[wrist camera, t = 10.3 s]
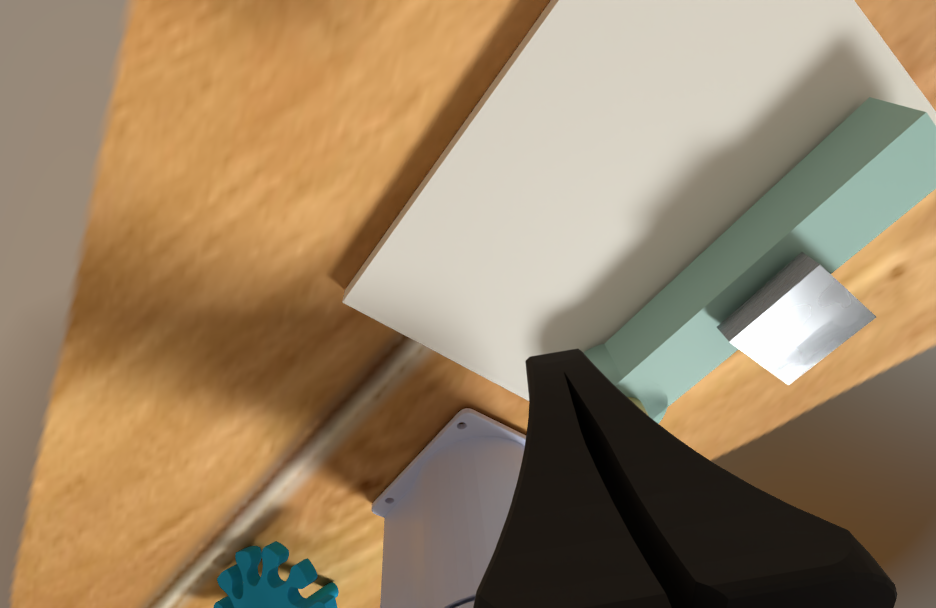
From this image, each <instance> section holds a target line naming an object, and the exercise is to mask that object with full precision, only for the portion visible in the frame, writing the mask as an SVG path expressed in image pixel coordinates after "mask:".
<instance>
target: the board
mask: <svg viewBox="0 0 936 608" xmlns="http://www.w3.org/2000/svg"><path fill="white" fill-rule="evenodd" d="M869 97H871V98H875V99H879V100H882V101H886V102H890V103H894V104H898V105H901V106H905V107H909V108H913V109H917V110H920V111H924V112H927V114H928V115H929V117H930V118H931V120H932V121H933V122H934V124H935V125H936V111H935V110H934V108H933V107H932V106H931V104H930V103H929V102H928V100H927V99H926V98H925V96H924V95H923V93H922V92H921V91H920V89H919V88H918V87H917V85H916V84H915V83H914V81H913V80H912V78H911V77H910V76H909V74H908V73H907V72H906V70H905V69H904V68H903V66H902V65H901V63H900V62H899V61H898V59H897V58H896V57H895V55H894V54H893V53H892V51H891V50H890V48H889V47H888V46H887V44H886V43H885V42H884V40H883V39H882V38H881V36H880V35H879V33H878V32H877V31H876V29H875V28H874V27H873V25H872V24H871V23H870V21H869V20H868V18H867V17H866V16H865V14H864V13H863V12H862V10H861V9H860V8H859V6H858V5H857V3H856V2H855V1H854V0H551V1H550V2H549V4H548V5H547V6H546V8H545V9H544V11H543V12H542V14H541V15H540V16H539V18H538V19H537V21H536V22H535V23H534V25H533V26H532V28H531V29H530V30H529V32H528V33H527V35H526V36H525V37H524V39H523V40H522V42H521V43H520V44H519V46H518V47H517V49H516V50H515V52H514V53H513V54H512V56H511V57H510V59H509V60H508V61H507V63H506V64H505V66H504V67H503V68H502V70H501V71H500V73H499V74H498V75H497V77H496V78H495V80H494V81H493V82H492V84H491V85H490V87H489V88H488V89H487V91H486V92H485V94H484V95H483V97H482V98H481V99H480V101H479V102H478V104H477V105H476V106H475V108H474V109H473V111H472V112H471V113H470V115H469V116H468V118H467V119H466V120H465V122H464V123H463V125H462V126H461V127H460V129H459V130H458V132H457V133H456V135H455V136H454V137H453V139H452V140H451V142H450V143H449V144H448V146H447V147H446V149H445V150H444V151H443V153H442V154H441V156H440V157H439V158H438V160H437V161H436V163H435V164H434V165H433V167H432V168H431V170H430V171H429V173H428V174H427V175H426V177H425V178H424V180H423V181H422V182H421V184H420V185H419V187H418V188H417V189H416V191H415V192H414V194H413V195H412V196H411V198H410V199H409V201H408V202H407V203H406V205H405V206H404V208H403V209H402V211H401V212H400V213H399V215H398V216H397V218H396V219H395V220H394V222H393V223H392V225H391V226H390V227H389V229H388V230H387V232H386V233H385V234H384V236H383V237H382V239H381V240H380V241H379V243H378V244H377V246H376V247H375V248H374V250H373V251H372V253H371V254H370V256H369V257H368V258H367V260H366V261H365V263H364V264H363V265H362V267H361V268H360V270H359V271H358V272H357V274H356V275H355V277H354V278H353V279H352V281H351V282H350V284H349V285H348V286H347V288H346V289H345V291H344V296H343V301H342V303H344V304H346V305H348V306H350V307H352V308H354V309H356V310H358V311H359V312H361V313H363V314H365V315H367V316H369V317H371V318H373V319H375V320H377V321H378V322H380V323H382V324H384V325H386V326H388V327H390V328H392V329H394V330H395V331H397V332H399V333H401V334H403V335H405V336H407V337H409V338H411V339H413V340H414V341H416V342H418V343H420V344H422V345H424V346H426V347H428V348H430V349H431V350H433V351H435V352H437V353H439V354H441V355H443V356H445V357H447V358H448V359H450V360H452V361H454V362H456V363H458V364H460V365H462V366H464V367H466V368H467V369H469V370H471V371H473V372H475V373H477V374H479V375H481V376H483V377H484V378H486V379H488V380H490V381H492V382H494V383H496V384H498V385H500V386H502V387H503V388H505V389H507V390H509V391H511V392H513V393H515V394H517V395H519V396H520V397H522V398H524V399H526V400H528V401H529V392H528V383H527V373H526V363H525V361H526V360H527V359H528V358H529V357H531V356H536V355H542V354H548V353H554V352H560V351H566V350H572V349H577V348H578V349H579V350H581V351H582V352H583V353H584V352H585V351H587V350H589V349H590V348H593V347H595V346H598V345H601V344H605V343H606V342H607V341H608V340H609V339H610V338H611V337H612V336H613V335H614V334H615V333H616V332H618V331H619V330H620V329H621V328H622V327H623V326H624V325H625V324H626V323H627V322H628V321H629V320H630V319H631V318H633V317H634V316H635V315H636V314H637V313H638V312H639V311H640V310H641V309H642V308H643V307H644V306H645V305H647V304H648V303H649V302H650V301H651V300H652V299H653V298H654V297H655V296H656V295H657V294H658V293H659V292H661V291H662V290H663V289H664V288H665V287H666V286H667V285H668V284H669V283H670V282H671V281H672V280H673V279H675V278H676V277H677V276H678V275H679V274H680V273H681V272H682V271H683V270H684V269H685V268H686V267H687V266H689V265H690V264H691V263H692V262H693V261H694V260H695V259H696V258H697V257H698V256H699V255H700V254H701V253H702V252H704V251H705V250H706V249H707V248H708V247H709V246H710V245H711V244H712V243H713V242H714V241H715V240H716V239H718V238H719V237H720V236H721V235H722V234H723V233H724V232H725V231H726V230H727V229H728V228H729V227H730V226H732V225H733V224H734V223H735V222H736V221H737V220H738V219H739V218H740V217H741V216H742V215H743V214H744V213H746V212H747V211H748V210H749V209H750V208H751V207H752V206H753V205H754V204H755V203H756V202H757V201H758V200H759V199H761V198H762V197H763V196H764V195H765V194H766V193H767V192H768V191H769V190H770V189H771V188H772V187H773V186H775V185H776V184H777V183H778V182H779V181H780V180H781V179H782V178H783V177H784V176H785V175H786V174H787V173H789V172H790V171H791V170H792V169H793V168H794V167H795V166H796V165H797V164H798V163H799V162H800V161H801V160H803V159H804V158H805V157H806V156H807V155H808V154H809V153H810V152H811V151H812V150H813V149H814V148H815V147H817V146H818V145H819V144H820V143H821V142H822V141H823V140H824V139H825V138H826V137H827V136H828V135H829V134H830V133H832V132H833V131H834V130H835V129H836V128H837V127H838V126H839V125H840V124H841V123H842V122H843V121H844V120H846V119H847V118H848V117H849V116H850V115H851V114H852V113H853V112H854V111H855V110H856V109H857V108H858V107H860V106H861V105H862V104H863V103H864V102H865V101H866V100H867V99H868V98H869Z"/></svg>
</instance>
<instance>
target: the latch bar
mask: <svg viewBox="0 0 936 608" xmlns="http://www.w3.org/2000/svg"><path fill="white" fill-rule="evenodd" d="M935 189H936V125H935V124H934V122H933V121H932V120H931V118H930V117H929V115H928V114H927V112H924V111H920V110H917V109H913V108H909V107H905V106H901V105H898V104H894V103H890V102H886V101H882V100H879V99H875V98H871V97H869V98H868V99H867V100H866V101H865V102H864V103H863V104H862V105H861V106H860V107H858V108H857V109H856V110H855V111H854V112H853V113H852V114H851V115H850V116H849V117H848V118H847V119H846V120H844V121H843V122H842V123H841V124H840V125H839V126H838V127H837V128H836V129H835V130H834V131H833V132H832V133H830V134H829V135H828V136H827V137H826V138H825V139H824V140H823V141H822V142H821V143H820V144H819V145H818V146H817V147H815V148H814V149H813V150H812V151H811V152H810V153H809V154H808V155H807V156H806V157H805V158H804V159H803V160H801V161H800V162H799V163H798V164H797V165H796V166H795V167H794V168H793V169H792V170H791V171H790V172H789V173H787V174H786V175H785V176H784V177H783V178H782V179H781V180H780V181H779V182H778V183H777V184H776V185H775V186H773V187H772V188H771V189H770V190H769V191H768V192H767V193H766V194H765V195H764V196H763V197H762V198H761V199H759V200H758V201H757V202H756V203H755V204H754V205H753V206H752V207H751V208H750V209H749V210H748V211H747V212H746V213H744V214H743V215H742V216H741V217H740V218H739V219H738V220H737V221H736V222H735V223H734V224H733V225H732V226H730V227H729V228H728V229H727V230H726V231H725V232H724V233H723V234H722V235H721V236H720V237H719V238H718V239H716V240H715V241H714V242H713V243H712V244H711V245H710V246H709V247H708V248H707V249H706V250H705V251H704V252H702V253H701V254H700V255H699V256H698V257H697V258H696V259H695V260H694V261H693V262H692V263H691V264H690V265H689V266H687V267H686V268H685V269H684V270H683V271H682V272H681V273H680V274H679V275H678V276H677V277H676V278H675V279H673V280H672V281H671V282H670V283H669V284H668V285H667V286H666V287H665V288H664V289H663V290H662V291H661V292H659V293H658V294H657V295H656V296H655V297H654V298H653V299H652V300H651V301H650V302H649V303H648V304H647V305H645V306H644V307H643V308H642V309H641V310H640V311H639V312H638V313H637V314H636V315H635V316H634V317H633V318H631V319H630V320H629V321H628V322H627V323H626V324H625V325H624V326H623V327H622V328H621V329H620V330H619V331H618V332H616V333H615V334H614V335H613V336H612V337H611V338H610V339H609V340H608V341H607V342H606V343H605V344H601V345H598V346H595V347H593V348H590V349H589V350H587V351H585V352H584V354H585V355H586V356H587V357H588V359H589V360H590V361H591V362H592V363H593V364H594V365H595V366H596V367H597V368H598V369H599V370H600V371H601V372H602V373H603V374H604V375H605V376H606V377H607V378H608V379H609V380H610V381H611V382H612V383H613V384H614V385H615V386H616V387H617V388H618V389H619V390H620V391H621V392H622V393H623V394H624V395H625V396H626V397H628V398H629V399H630V400H631V401H632V402H633V403H634V404H635V405H636V406H637V407H639V408H640V409H641V410H642V411H643V412H644V413H646V414H647V415H648V416H649V417H650V418H652V419H653V420H654V421H655V422H657V423H659V422H660V421H661V420H662V418H663V417H664V415H665V412H666V410H667V407H668V406H669V405H671V404H672V403H673V402H674V401H676V400H677V399H678V398H679V397H681V396H682V395H683V394H684V393H685V392H687V391H688V390H689V389H690V388H692V387H693V386H694V385H695V384H696V383H698V382H699V381H700V380H701V379H703V378H704V377H705V376H706V375H708V374H709V373H710V372H711V371H712V370H714V369H715V368H716V367H717V366H719V365H720V364H721V363H722V362H723V361H725V360H726V359H727V358H728V357H730V356H731V355H732V354H733V353H735V352H736V351H737V350H738V348H737V347H735V346H734V345H733V344H731V343H730V342H729V341H728V340H727V339H726V338H725V336H724V335H723V334H722V333H721V332H720V331H719V330H718V328H717V326H718V325H719V324H720V323H722V322H723V321H724V320H725V319H726V318H727V317H728V316H730V315H731V314H732V313H733V312H734V311H735V310H736V309H737V308H739V307H740V306H741V305H742V304H743V303H744V302H745V301H747V300H748V299H749V298H750V297H751V296H752V295H753V294H754V293H756V292H757V291H758V290H759V289H760V288H761V287H762V286H764V285H765V284H766V283H767V282H768V281H769V280H770V279H771V278H773V277H774V276H775V275H776V274H777V273H778V272H779V271H781V270H782V269H783V268H784V267H785V266H786V265H787V264H789V263H790V262H791V261H792V260H793V259H794V258H795V257H796V256H798V255H799V254H800V253H801V252H803V253H804V254H806V255H807V256H809V257H810V258H811V259H813V260H814V261H816V262H817V263H819V264H820V265H821V266H822V267H823V268H824V269H825V270H826V271H828V272H829V273H830V274H831V273H833V272H834V271H835V270H836V269H838V268H839V267H840V266H841V265H842V264H844V263H845V262H846V261H847V260H849V259H850V258H851V257H852V256H854V255H855V254H856V253H857V252H858V251H860V250H861V249H862V248H863V247H865V246H866V245H867V244H868V243H869V242H871V241H872V240H873V239H874V238H876V237H877V236H878V235H879V234H881V233H882V232H883V231H884V230H885V229H887V228H888V227H889V226H890V225H892V224H893V223H894V222H895V221H896V220H898V219H899V218H900V217H901V216H903V215H904V214H905V213H906V212H908V211H909V210H910V209H911V208H912V207H914V206H915V205H916V204H917V203H919V202H920V201H921V200H922V199H923V198H925V197H926V196H927V195H928V194H930V193H931V192H932V191H933V190H935Z"/></svg>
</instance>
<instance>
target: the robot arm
mask: <svg viewBox="0 0 936 608" xmlns="http://www.w3.org/2000/svg"><path fill="white" fill-rule="evenodd" d="M525 363H526V373H527V383H528V392H529V402H530V403H529V419H528V427H527V434H526V435H524V434H522V433H520V432H518V431H516V430H514V429H512V428H510V427H507V426H505V425H503V424H501V423H499V422H497V421H495V420H493V419H491V418H489V417H487V416H485V415H483V414H481V413H479V412H477V411H475V410H473V409H470V408H465V409H462V410H461V411H459V412H458V413H457V414H456V415H455V416H454V418H453V419H452V420H451V421H450V422H449V423H448V424H447V425H446V426H445V427H444V428H443V429H442V430H441V431H440V432H439V433H438V434H437V436H436V437H435V438H434V439H433V440H432V441H431V442H430V443H429V444H428V445H427V446H426V447H425V448H424V449H423V450H422V451H421V452H420V453H419V455H418V456H417V457H416V458H415V459H414V460H413V461H412V462H411V463H410V464H409V465H408V466H407V467H406V468H405V469H404V470H403V471H402V473H401V474H400V475H399V476H398V477H397V478H396V479H395V480H394V481H393V482H392V483H391V484H390V485H389V486H388V487H387V488H386V489H385V491H384V492H383V493H382V494H381V495H380V496H379V497H378V498H377V499H376V500H375V501H374V502H373V504H372V512H373V513H374V514H376V515H379V516H381V517H384V518H385V521H384V542H383V563H382V584H381V605H380V608H893V607H894V604H895V601H896V597H897V592H896V587H895V584H894V583H893V582H892V581H891V579H890V578H889V577H888V576H887V575H886V573H885V572H884V571H883V569H882V568H881V567H880V566H879V564H878V563H877V562H876V561H875V559H874V558H873V557H872V556H871V555H870V553H869V552H868V551H867V550H866V549H865V548H864V547H863V546H862V545H861V544H860V543H859V542H858V541H857V540H856V539H855V538H854V536H853V535H852V534H851V533H850V532H849V531H848V530H846V529H844V528H841V527H839V526H837V525H835V524H832V523H830V522H828V521H826V520H823V519H821V518H819V517H816V516H814V515H812V514H810V513H807V512H805V511H803V510H800V509H798V508H796V507H794V506H791V505H789V504H787V503H785V502H783V501H781V500H780V499H777V498H776V497H774V496H772V495H770V494H768V493H766V492H764V491H762V490H760V489H758V488H756V487H754V486H752V485H750V484H749V483H747V482H745V481H743V480H742V479H740V478H738V477H737V476H735V475H733V474H731V473H730V472H728V471H726V470H724V469H722V468H721V467H719V466H717V465H716V464H714V463H713V462H711V461H710V460H708V459H707V458H705V457H703V456H702V455H700V454H699V453H697V452H696V451H694V450H693V449H692V448H690V447H689V446H687V445H686V444H684V443H683V442H682V441H680V440H679V439H677V438H676V437H675V436H673V435H672V434H671V433H669V432H668V431H667V430H665V429H664V428H663V427H662V426H660V425H659V424H658V423H657V422H655V421H654V420H653V419H652V418H650V417H649V416H648V415H647V414H646V413H644V412H643V411H642V410H641V409H640V408H639V407H637V406H636V405H635V404H634V403H633V402H632V401H631V400H630V399H629V398H628V397H626V396H625V395H624V394H623V393H622V392H621V391H620V390H619V389H618V388H617V387H616V386H615V385H614V384H613V383H612V382H611V381H610V380H609V379H608V378H607V377H606V376H605V375H604V374H603V373H602V372H601V371H600V370H599V369H598V368H597V367H596V366H595V365H594V364H593V363H592V362H591V361H590V360H589V359H588V357H587V356H586V355H585V354H584V353H583V352H582V351H581V350H579V349H578V348H577V349H572V350H566V351H560V352H554V353H548V354H542V355H536V356H531V357H529V358H528V359H527V360H526V361H525ZM460 422H464V423H463V424H458V423H460Z"/></svg>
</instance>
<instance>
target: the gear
mask: <svg viewBox="0 0 936 608" xmlns="http://www.w3.org/2000/svg"><path fill="white" fill-rule="evenodd" d="M261 557H262V560H263V570H262V575H261V577H260V576H259V573H258V565H259V563H260V561H261ZM288 557H289V550H288V549H287V548H286V547H285V546H284V545H282V544H281V543H279V542H277V541H275V542H273V543H271V544H269V545H267V546H266V547H264V548H263V551H262V553H261V549H260V547H258V546H250V547H247V548H244V549H242V550H240V551H238V552H236V555H235V558H236V562H237V564H236V565H234V566H232V567H230V568H228V569H226V570H225V571H223V572H222V573H221V574H220V575H219V577H218V578H217V581H218V584H219V586H220V587H221V589H223V590H224V591H225V592H226V593H227V595H228V596H227V597H225V598H223V599H221V600H220V601H218V602H216V603H215V605H214V608H337V604H336V600H335V598H336V597H337V596H338V588H337V586H336V584H334V583H333V582H331V583H328V584H327V585H325V586H324V587H322V588H321V589H320V590H318V591H317V592H315V593H314V594H312V595H311V596H309V597H308V598H303V597H302V596H301V595H300V593H299V591H298V589H303V588H305V587H306V586H308V585H309V584H311V583H312V582H314V581H315V580H316V579H317V576H318V575H317V572H316V570H315V568H314V566H313V565H312V563H311V562H310V561H309V559H304V560H303V561H301V562H299V563H298V564H296V565H294V566H293V567H292V568H291V571H290V575H289V577H288V579H287V581H283V580H281V578H280V577H279V575H278V567H279V565H280V564H282V563H284V562H286V561H287V559H288Z"/></svg>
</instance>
